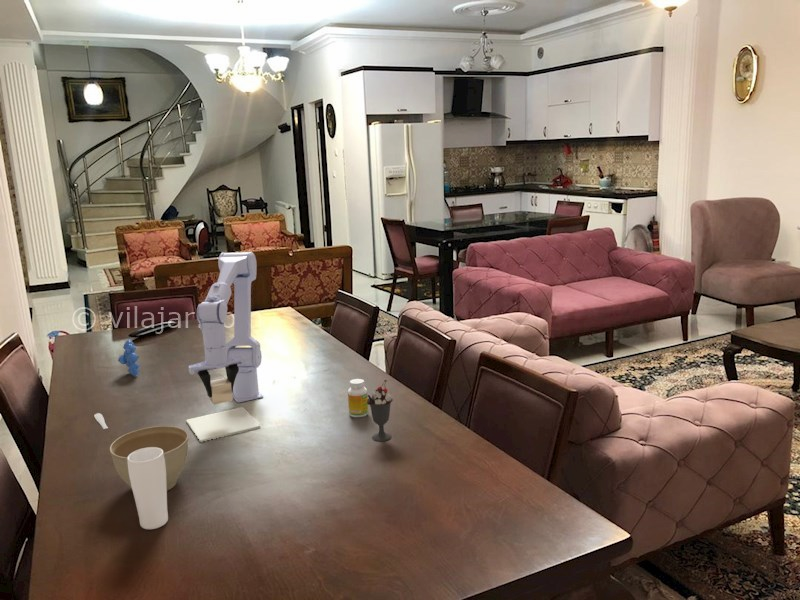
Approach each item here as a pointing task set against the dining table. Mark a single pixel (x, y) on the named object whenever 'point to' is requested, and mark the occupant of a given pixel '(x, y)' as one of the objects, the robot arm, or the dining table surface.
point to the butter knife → (100, 420)
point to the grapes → (130, 358)
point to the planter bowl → (160, 437)
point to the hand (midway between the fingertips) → (220, 393)
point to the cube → (221, 391)
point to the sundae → (380, 411)
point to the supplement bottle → (357, 398)
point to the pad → (222, 424)
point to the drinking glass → (149, 486)
